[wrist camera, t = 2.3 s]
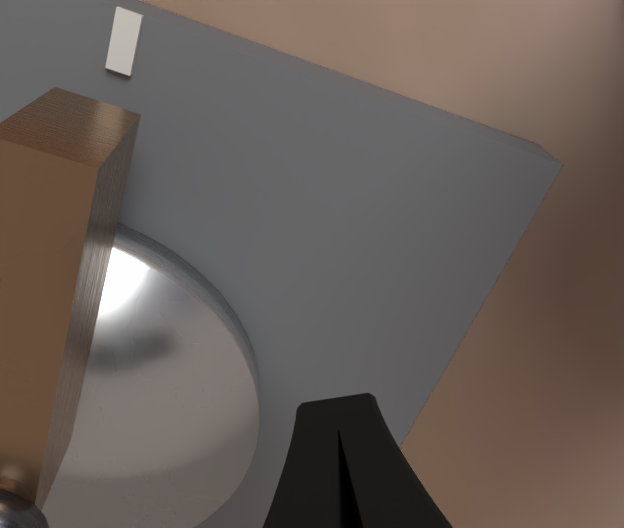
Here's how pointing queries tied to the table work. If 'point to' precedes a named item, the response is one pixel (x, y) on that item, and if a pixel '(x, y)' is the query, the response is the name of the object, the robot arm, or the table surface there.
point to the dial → (108, 341)
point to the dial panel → (294, 204)
